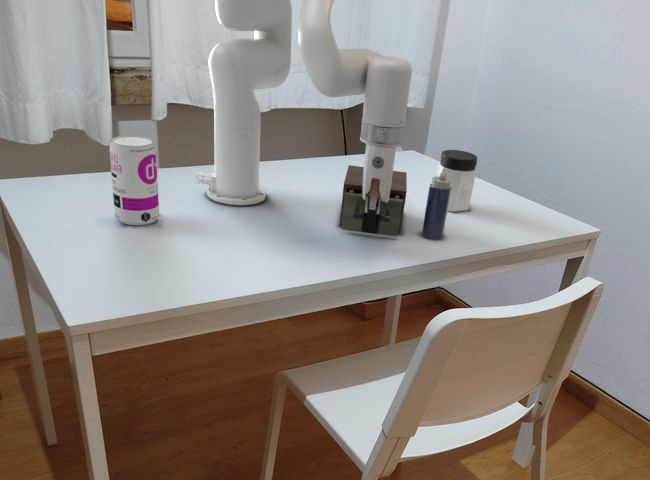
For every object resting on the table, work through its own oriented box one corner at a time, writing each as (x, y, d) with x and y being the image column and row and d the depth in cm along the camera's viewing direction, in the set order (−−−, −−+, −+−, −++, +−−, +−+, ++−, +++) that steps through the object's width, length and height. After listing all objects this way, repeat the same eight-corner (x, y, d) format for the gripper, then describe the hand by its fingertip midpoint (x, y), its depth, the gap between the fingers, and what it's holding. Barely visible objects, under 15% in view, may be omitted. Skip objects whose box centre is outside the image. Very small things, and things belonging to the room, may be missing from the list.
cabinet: (400, 234, 138) (406, 191, 133) (339, 227, 138) (343, 183, 133) (400, 212, 150) (406, 172, 145) (344, 205, 150) (348, 165, 145)
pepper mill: (421, 238, 138) (432, 174, 131) (421, 230, 141) (431, 168, 135) (443, 240, 138) (454, 177, 131) (442, 233, 141) (453, 171, 135)
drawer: (397, 244, 131) (402, 208, 127) (339, 237, 131) (343, 201, 127) (398, 215, 145) (403, 182, 141) (345, 209, 145) (349, 175, 141)
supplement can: (168, 218, 132) (165, 141, 124) (139, 230, 126) (135, 149, 118) (135, 208, 135) (130, 132, 127) (105, 219, 128) (98, 140, 120)
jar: (447, 213, 152) (456, 161, 146) (424, 201, 158) (433, 150, 152) (476, 209, 157) (486, 158, 151) (453, 198, 163) (462, 148, 156)
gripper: (402, 146, 112) (388, 248, 121) (403, 126, 125) (390, 220, 134) (357, 140, 112) (346, 243, 121) (363, 121, 125) (353, 215, 134)
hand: (369, 231), depth 128 cm, fingers closed
